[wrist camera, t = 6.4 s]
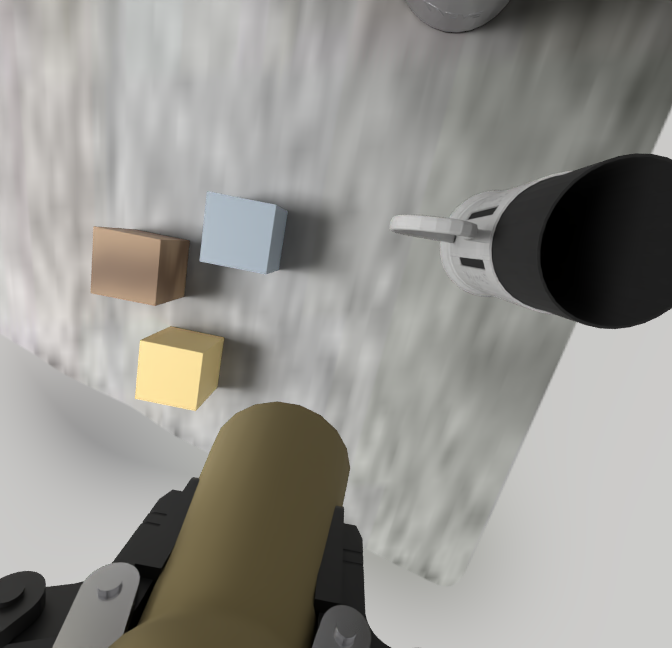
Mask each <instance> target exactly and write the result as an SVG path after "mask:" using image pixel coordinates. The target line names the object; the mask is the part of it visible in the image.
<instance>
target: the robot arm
mask: <svg viewBox="0 0 672 648" xmlns="http://www.w3.org/2000/svg"><path fill="white" fill-rule="evenodd" d="M405 1H406V3H407V4H408V6H409V7H410V9H411V11H412V12H413V13H414V14H415V15H416V16H417V17H418V18H419V19H420V20H421V21H423V22H424V23H426V24H428V25H429V26H431V27H433V28H436V29H439V30H442V31H446V32H462V31H469V30H472V29H475V28H477V27H479V26H482V25H484V24H485V23H487V22H488V21H490V20H491V19H493V18H494V17H495V16H496V15H497V14H498V13H499V12H500V11H501V10H502V9H503V8H504V7H505V6H506V5H507V3H508V2H509V0H405ZM199 479H200V478H195V477H193V478H192V479H191V480H190V481H189V483H188V484H187V486H186V487H185V489H184V490H183V492H182V491H177V490H172V491H170V492H169V493H167V494H166V495H165V496H163V497H162V498H160V499H159V500H158V502H157V503H156V504H155V506H154V507H153V508H152V510H151V511H150V513H149V514H148V515H147V517H146V518H145V519H144V521H143V523H142V524H141V525H140V526H139V527H138V529H137V530H136V531H135V533H134V534H133V535H132V537H131V538H130V540H129V541H128V542H127V544H126V545H125V546H124V548H123V549H122V550H121V552H120V553H119V554H118V556H117V557H116V558H115V560H114V561H113V562H112V564H108V565H105V566H103V567H101V568H99V569H97V570H96V571H94V572H93V573H92V574H90V575H89V576H88V577H87V578H86V580H85V581H83V582H80V583H75V584H68V585H60V586H51V587H46V583H45V579H44V577H43V576H42V575H41V574H39V573H37V572H32V571H23V572H17V573H13V574H10V575H7V576H5V577H3V578H1V579H0V648H108V647H109V646H110V645H112V644H113V643H114V642H115V641H116V640H117V639H118V638H120V637H121V636H122V635H123V634H125V633H127V632H128V631H130V630H132V629H134V628H135V627H137V625H138V622H139V620H140V617H141V615H142V613H143V610H144V608H145V605H146V603H147V601H148V599H149V596H150V594H151V592H152V589H153V587H154V585H155V583H156V581H157V579H158V577H159V575H160V574H161V572H162V570H163V568H164V566H165V564H166V562H167V560H168V558H169V556H170V554H171V552H172V550H173V548H174V546H175V543H176V541H177V538H178V535H179V533H180V530H181V528H182V525H183V522H184V520H185V517H186V514H187V512H188V509H189V506H190V504H191V501H192V499H193V496H194V493H195V491H196V488H197V485H198V483H199ZM363 571H364V570H363V543H362V537H361V535H360V533H359V531H358V529H357V527H356V526H355V525H350V524H345V523H344V507H342V506H336V507H335V509H334V513H333V517H332V521H331V525H330V529H329V533H328V537H327V541H326V545H325V549H324V553H323V557H322V561H321V564H320V568H319V572H318V575H317V582H316V590H315V598H314V609H315V614H316V619H317V625H316V630H315V635H314V641H313V646H312V648H391V647H389V646H387V645H386V644H384V643H383V642H382V641H381V640H379V639H378V638H377V636H376V635H375V634H374V633H373V631H372V630H371V628H370V626H369V624H368V622H367V619H366V615H365V596H364V572H363Z"/></svg>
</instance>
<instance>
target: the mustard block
mask: <svg viewBox="0 0 672 648" xmlns="http://www.w3.org/2000/svg"><path fill="white" fill-rule="evenodd" d="M223 342H224V337H219V336H215V335H210V334H205V333H200V332H195V331H190V330H185V329H181V328H176V327H171V326H170V327H168V328H166V329H164V330H162V331H159V332H157V333H155V334H153V335H151V336H148V337H146V338H144V339H142V340H140V348H139V359H138V371H137V382H136V394H135V399H139V400H144V401H149V402H154V403H159V404H164V405H169V406H174V407H179V408H184V409H189V410H194V411H196V410H197V409H198V408H199V407H200V406H201V405H202V404H203V402H204V401H205V400H206V399H207V398H208V397H209V396H210V395H211V394H212V393H213V392H214V390H215V389H216V388H217V385H218V378H219V371H220V364H221V357H222V350H223Z"/></svg>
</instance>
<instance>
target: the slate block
mask: <svg viewBox="0 0 672 648" xmlns="http://www.w3.org/2000/svg"><path fill="white" fill-rule="evenodd" d="M287 214H288V211H287V210H285V209H283V208H281V207H279V206H277V205H274V204H269V203H264V202H259V201H254V200H249V199H244V198H239V197H234V196H229V195H224V194H219V193H214V192H209V191H207V196H206V206H205V215H204V224H203V234H202V243H201V252H200V262H206V263H211V264H216V265H221V266H226V267H231V268H236V269H241V270H246V271H251V272H256V273H261V274H269V273H271V272H274V271H277V270H279V265H280V259H281V252H282V246H283V240H284V233H285V227H286V220H287Z"/></svg>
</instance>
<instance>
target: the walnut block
mask: <svg viewBox="0 0 672 648" xmlns="http://www.w3.org/2000/svg"><path fill="white" fill-rule="evenodd" d="M189 244H190V241H189V240H184V239H179V238H174V237H169V236H164V235H159V234H154V233H149V232H144V231H139V230H134V229H122V228H108V227H95V226H94V229H93V252H92V274H91V293H93V294H98V295H103V296H108V297H113V298H118V299H123V300H128V301H133V302H138V303H143V304H148V305H154V306H156V305H159V304H163V303H166V302H169V301H172V300H175V299H179V298H182V297H184V293H185V283H186V273H187V263H188V253H189Z"/></svg>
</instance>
